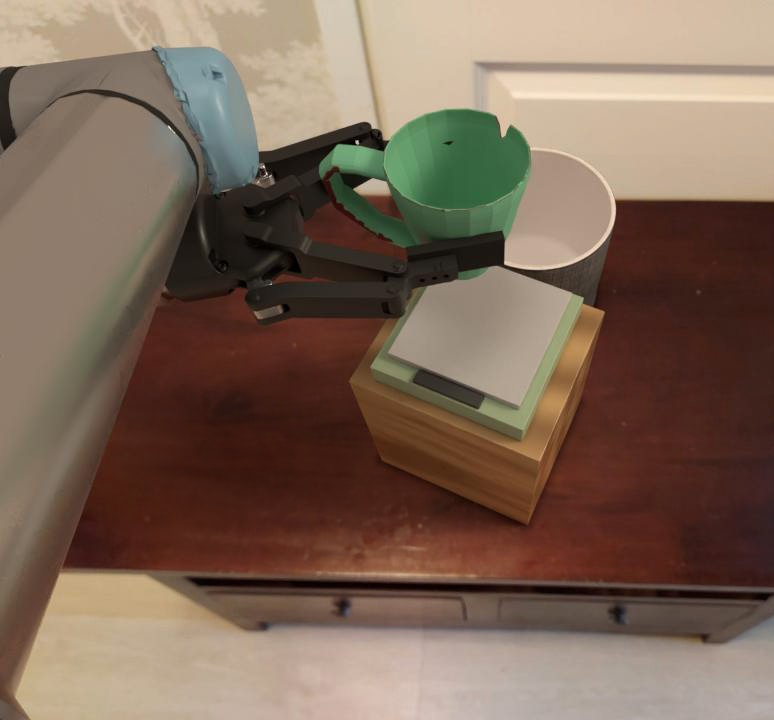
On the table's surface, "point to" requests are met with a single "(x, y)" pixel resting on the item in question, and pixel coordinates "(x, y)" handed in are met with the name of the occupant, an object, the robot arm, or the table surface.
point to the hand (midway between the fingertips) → (488, 195)
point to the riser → (478, 430)
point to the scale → (481, 347)
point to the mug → (437, 179)
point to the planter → (562, 224)
